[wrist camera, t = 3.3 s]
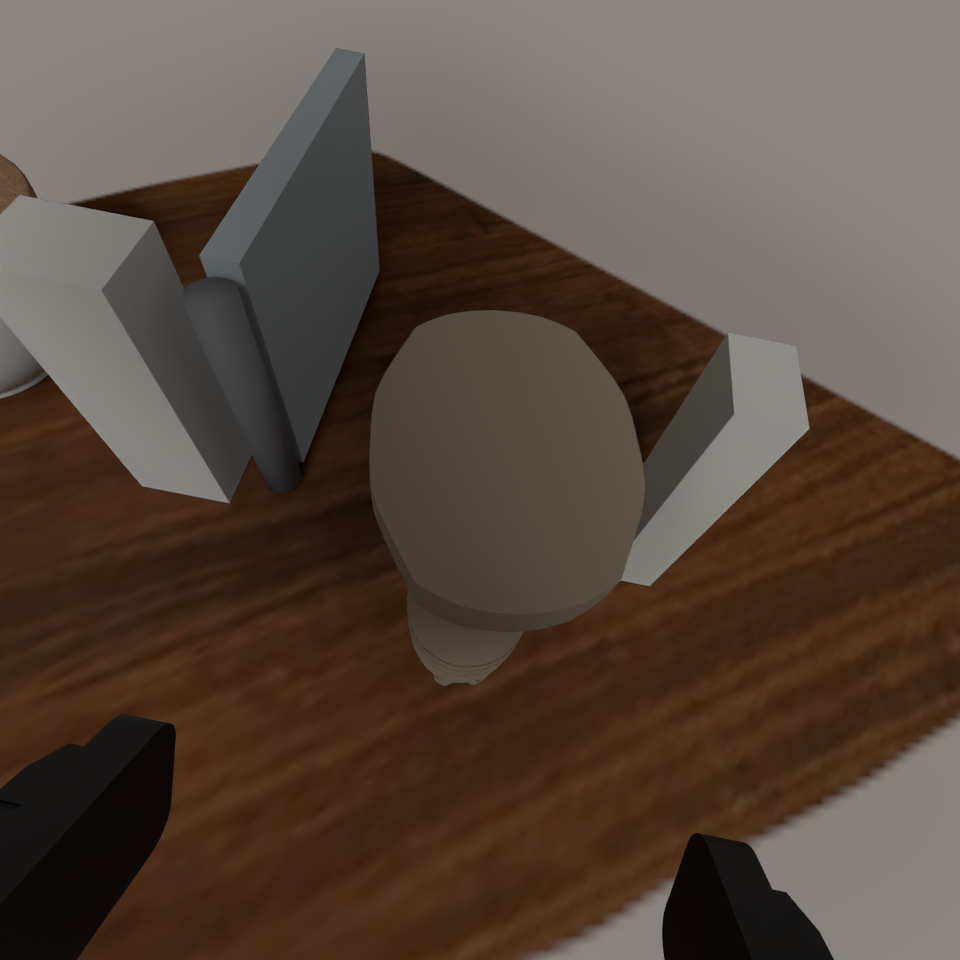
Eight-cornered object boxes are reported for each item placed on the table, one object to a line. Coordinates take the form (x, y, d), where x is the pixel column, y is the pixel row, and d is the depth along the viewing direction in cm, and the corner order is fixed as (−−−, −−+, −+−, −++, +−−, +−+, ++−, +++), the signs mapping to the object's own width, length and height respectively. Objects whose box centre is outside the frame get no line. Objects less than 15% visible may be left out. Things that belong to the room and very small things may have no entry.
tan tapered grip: (510, 572, 25) (608, 313, 12) (523, 731, 22) (677, 610, 9) (398, 574, 24) (376, 305, 12) (395, 737, 21) (360, 618, 8)
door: (294, 496, 25) (221, 306, 16) (259, 489, 25) (165, 295, 16) (382, 271, 33) (369, 54, 24) (356, 266, 33) (331, 47, 24)
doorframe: (141, 486, 25) (-47, 261, 15) (171, 432, 27) (19, 195, 17) (649, 586, 25) (809, 428, 15) (650, 526, 27) (796, 346, 16)
